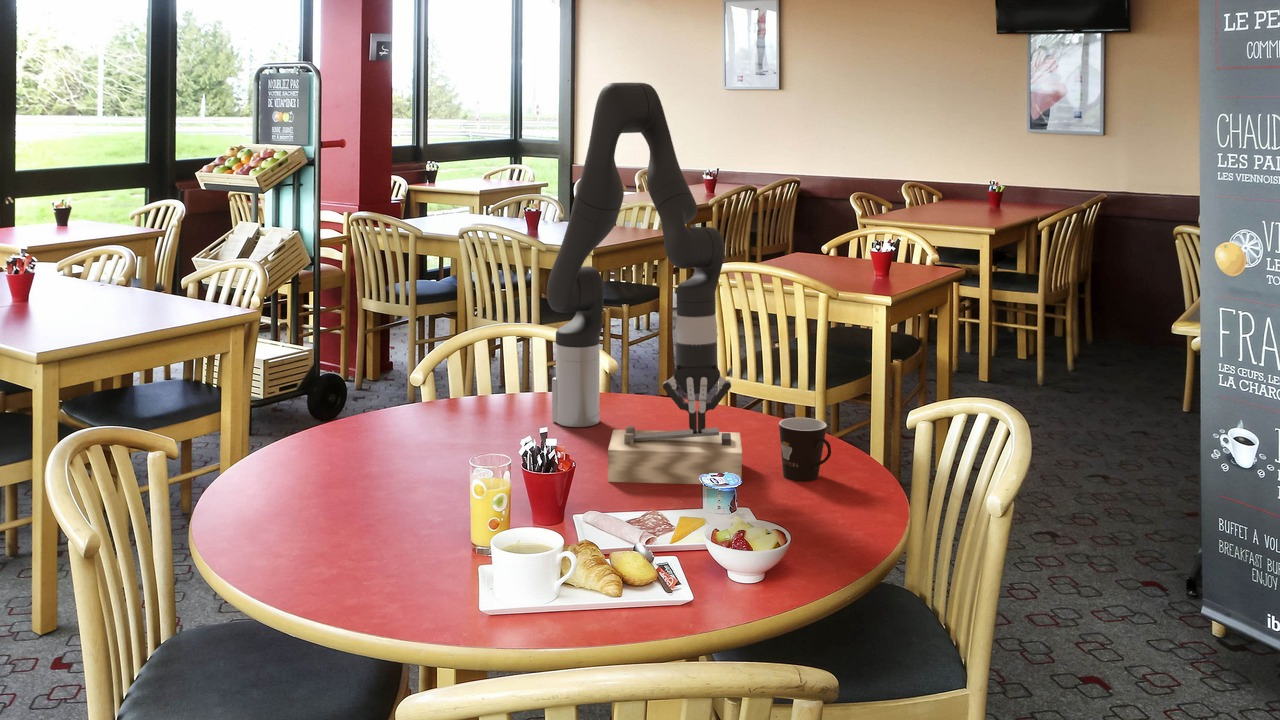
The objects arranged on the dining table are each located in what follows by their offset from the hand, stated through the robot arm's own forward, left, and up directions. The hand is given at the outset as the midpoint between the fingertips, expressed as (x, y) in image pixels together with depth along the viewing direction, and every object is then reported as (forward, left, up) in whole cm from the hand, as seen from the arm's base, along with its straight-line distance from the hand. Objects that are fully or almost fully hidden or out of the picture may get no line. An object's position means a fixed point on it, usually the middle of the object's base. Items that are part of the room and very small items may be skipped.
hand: (697, 431), depth 212 cm
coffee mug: (+18, +7, -8) cm, 21 cm away
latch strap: (-4, -1, -1) cm, 4 cm away
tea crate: (-4, -1, -8) cm, 9 cm away
